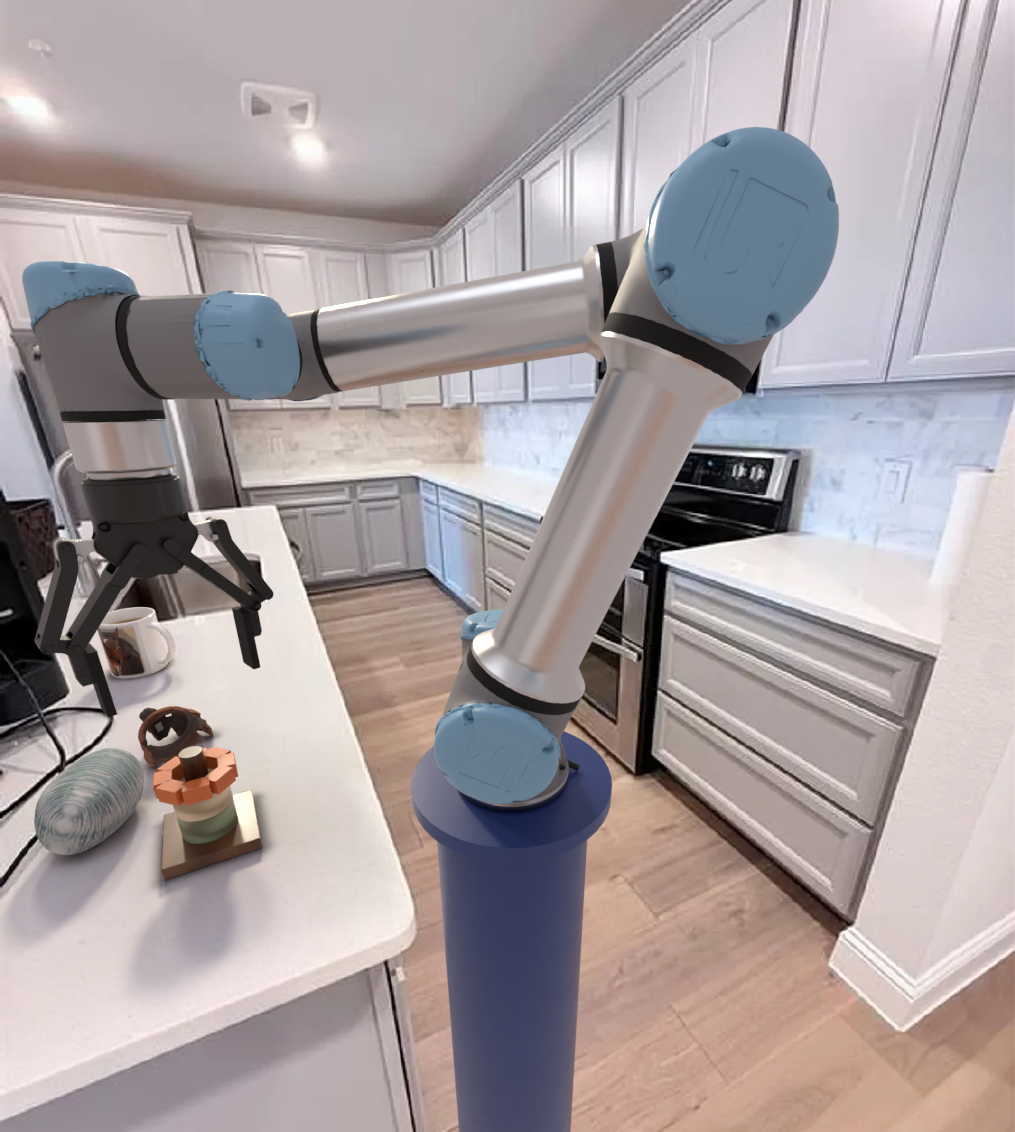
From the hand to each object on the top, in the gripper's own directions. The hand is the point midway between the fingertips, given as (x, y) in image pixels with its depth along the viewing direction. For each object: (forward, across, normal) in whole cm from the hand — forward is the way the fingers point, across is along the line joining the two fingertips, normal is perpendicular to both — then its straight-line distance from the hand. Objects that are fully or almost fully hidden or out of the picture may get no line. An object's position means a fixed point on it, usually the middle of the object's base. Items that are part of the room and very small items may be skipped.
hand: (186, 686), depth 57 cm
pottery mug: (+21, -3, -26) cm, 34 cm away
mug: (+21, -8, -61) cm, 65 cm away
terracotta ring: (+13, +1, -3) cm, 13 cm away
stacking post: (+21, +1, -3) cm, 21 cm away
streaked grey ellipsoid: (+21, +9, -15) cm, 28 cm away
